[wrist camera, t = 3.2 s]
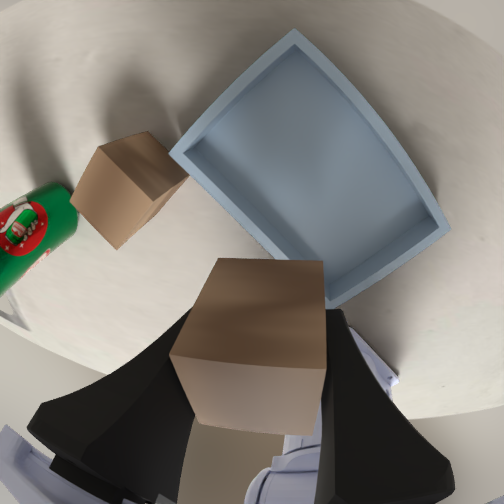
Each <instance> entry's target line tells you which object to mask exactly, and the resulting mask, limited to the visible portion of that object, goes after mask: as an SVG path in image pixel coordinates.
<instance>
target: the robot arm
mask: <svg viewBox="0 0 504 504" xmlns="http://www.w3.org/2000/svg"><path fill="white" fill-rule="evenodd" d="M192 308H193V307H192ZM192 308H191V309H190V310H188V311H187V312H186V313H185V314H184V315H183V316H182V317H181V318H180V319H179V320H178V321H177V322H176V323H175V324H173V325H172V326H171V327H170V328H169V329H168V330H167V331H166V332H165V333H164V334H162V335H161V336H160V337H159V338H158V339H157V340H156V341H154V342H153V343H152V344H151V345H149V346H148V347H147V348H146V349H145V350H143V351H142V352H141V353H140V354H138V355H137V356H136V357H134V358H133V359H132V360H130V361H129V362H128V363H126V364H125V365H123V366H122V367H120V368H119V369H117V370H116V371H114V372H112V373H111V374H109V375H107V376H105V377H103V378H102V379H100V380H98V381H96V382H95V383H93V384H91V385H89V386H86V387H84V388H82V389H80V390H78V391H75V392H73V393H71V394H68V395H65V396H63V397H59V398H56V399H53V400H50V401H47V402H44V403H42V404H41V405H40V406H39V408H38V410H37V411H36V413H35V415H34V416H33V418H32V419H31V421H30V423H29V424H28V426H27V430H28V431H29V432H30V433H31V434H32V435H33V436H34V437H35V438H36V439H38V440H39V441H40V442H41V443H42V444H43V445H45V446H46V447H47V448H48V449H50V450H51V451H52V452H54V453H55V454H56V455H55V457H54V459H53V460H52V459H50V458H49V457H47V456H45V455H44V454H43V453H41V452H40V451H39V450H37V449H35V448H34V447H33V446H32V445H31V444H30V443H29V442H28V441H26V440H25V439H24V438H23V437H22V436H20V435H19V434H18V433H17V432H15V431H14V430H13V429H11V428H10V427H9V426H8V425H5V426H4V428H3V429H2V431H1V432H0V480H1V482H2V483H3V484H4V485H5V486H6V488H7V489H8V490H9V491H10V493H11V494H12V495H13V496H14V497H15V499H16V500H17V501H18V502H19V503H20V504H145V503H147V504H155V503H156V504H177V498H178V491H179V484H180V477H181V472H182V466H183V461H184V457H185V452H186V448H187V443H188V439H189V435H190V431H191V427H192V424H193V420H194V417H195V413H194V411H193V409H192V407H191V404H190V402H189V400H188V398H187V396H186V393H185V391H184V389H183V387H182V384H181V382H180V380H179V378H178V375H177V373H176V370H175V368H174V366H173V363H172V361H171V358H170V356H169V353H170V351H171V349H172V347H173V345H174V343H175V341H176V339H177V337H178V335H179V333H180V331H181V329H182V327H183V325H184V323H185V321H186V319H187V317H188V315H189V313H190V311H191V310H192ZM325 311H326V362H327V369H326V374H325V380H324V385H323V390H322V395H321V400H320V404H319V409H318V413H317V418H316V422H315V426H314V430H313V435H312V436H301V435H285V440H284V447H283V453H282V456H274V457H273V462H272V466H271V468H265V469H263V470H262V471H261V472H260V473H259V474H258V475H257V476H256V477H255V478H254V479H253V481H252V482H251V484H250V486H249V488H248V490H247V493H246V496H245V501H244V504H435V503H437V502H439V501H441V500H443V499H444V498H446V497H448V496H449V495H451V494H452V493H453V492H454V490H455V482H454V475H453V471H452V468H451V464H450V461H449V460H448V459H447V458H446V457H444V456H443V455H442V454H441V453H440V452H439V451H438V450H436V449H435V448H434V447H433V446H432V445H431V444H430V443H429V442H428V441H427V440H426V439H425V438H424V437H423V436H422V435H421V434H420V433H419V432H418V431H417V430H416V429H415V428H414V427H413V425H412V424H410V422H409V421H408V420H407V419H406V417H405V416H404V415H403V414H402V413H401V412H400V411H399V409H398V408H397V407H396V406H395V404H394V403H393V400H392V393H391V386H393V385H395V384H397V383H398V382H399V378H398V376H397V375H396V374H395V373H394V372H393V371H392V370H391V369H390V368H389V367H388V366H387V364H386V363H385V362H384V361H383V360H382V359H381V358H380V357H379V356H378V355H377V354H376V353H375V352H374V351H373V350H372V348H371V347H370V346H369V345H368V344H367V343H366V342H365V341H364V340H363V339H362V338H361V337H360V336H359V335H358V334H357V333H356V332H355V331H354V329H353V328H351V327H348V324H347V322H346V319H345V316H344V313H343V311H342V310H341V309H325ZM486 504H504V495H503V496H501V497H499V498H497V499H494V500H492V501H490V502H488V503H486Z"/></svg>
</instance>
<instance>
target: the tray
mask: <svg viewBox="0 0 504 504" xmlns="http://www.w3.org/2000/svg"><path fill="white" fill-rule="evenodd" d="M168 154H169V155H170V156H171V157H172V158H173V159H174V160H175V161H176V162H177V163H178V164H179V165H180V166H181V167H182V168H183V169H184V170H185V171H186V172H187V173H188V174H189V175H190V176H191V177H192V178H194V179H195V180H196V181H197V182H198V183H199V184H200V185H201V186H202V187H203V188H204V189H205V190H206V191H207V192H208V193H209V194H210V195H211V196H212V197H213V198H214V199H215V200H216V201H217V202H218V203H219V204H220V205H221V206H222V207H223V208H224V209H225V210H226V211H227V212H228V213H229V214H230V215H231V216H232V217H233V218H234V219H235V220H236V221H237V222H238V223H239V224H240V225H241V226H242V227H243V228H244V229H245V230H246V231H247V232H248V233H249V234H250V235H252V236H253V237H254V238H255V239H256V240H257V241H258V242H259V243H260V244H261V245H262V246H263V247H264V248H265V249H266V250H267V251H268V252H269V253H270V254H271V255H272V256H273V257H274V258H275V259H277V260H318V261H323V270H324V287H325V309H334V308H336V307H338V306H339V305H341V304H343V303H344V302H346V301H348V300H349V299H351V298H353V297H354V296H356V295H357V294H359V293H361V292H362V291H364V290H365V289H367V288H368V287H370V286H372V285H373V284H375V283H376V282H378V281H379V280H381V279H382V278H384V277H385V276H387V275H388V274H390V273H391V272H393V271H394V270H396V269H397V268H399V267H400V266H402V265H403V264H405V263H406V262H407V261H409V260H410V259H412V258H413V257H414V256H416V255H417V254H419V253H420V252H421V251H423V250H424V249H426V248H427V247H428V246H430V245H431V244H432V243H434V242H435V241H437V240H438V239H439V238H441V237H442V236H443V235H444V234H446V233H447V232H448V231H450V230H451V227H450V225H449V223H448V221H447V219H446V217H445V216H444V214H443V212H442V210H441V208H440V206H439V205H438V203H437V201H436V199H435V198H434V196H433V194H432V192H431V191H430V189H429V187H428V186H427V184H426V182H425V181H424V179H423V178H422V176H421V174H420V173H419V171H418V170H417V168H416V167H415V165H414V163H413V162H412V160H411V159H410V157H409V156H408V155H407V153H406V152H405V150H404V149H403V147H402V146H401V144H400V143H399V142H398V140H397V139H396V138H395V136H394V135H393V133H392V132H391V131H390V129H389V128H388V127H387V125H386V124H385V123H384V122H383V120H382V119H381V118H380V116H379V115H378V114H377V113H376V111H375V110H374V109H373V108H372V107H371V105H370V104H369V103H368V102H367V101H366V99H365V98H364V97H363V96H362V95H361V93H360V92H359V91H358V90H357V89H356V88H355V87H354V86H353V84H352V83H351V82H350V81H349V80H348V79H347V78H346V77H345V76H344V75H343V74H342V73H341V71H340V70H339V69H338V68H337V67H336V66H335V65H334V64H333V63H332V62H331V61H330V60H329V59H328V58H327V57H326V56H325V55H324V54H323V53H322V52H321V51H320V50H319V49H318V48H316V47H315V46H314V45H313V44H312V43H311V42H310V41H309V40H308V39H307V38H306V37H305V36H303V35H302V34H301V33H300V32H299V31H298V30H297V29H295V28H294V29H292V30H291V31H290V32H289V33H287V34H286V35H285V36H284V37H283V38H281V39H280V40H279V41H278V42H277V43H275V44H274V45H273V46H272V47H271V48H270V49H269V50H267V51H266V52H265V53H264V54H263V55H262V56H261V57H259V58H258V59H257V60H256V61H255V62H254V63H253V64H252V65H251V66H250V67H249V68H248V69H246V70H245V71H244V72H243V73H242V74H241V75H240V76H239V77H238V78H237V79H236V80H235V81H234V82H233V83H232V84H231V85H230V86H229V87H228V88H227V89H226V90H225V91H224V92H223V93H222V94H221V95H220V96H219V97H218V98H217V99H216V100H215V101H214V102H213V103H212V104H211V105H210V106H209V107H208V109H207V110H206V111H205V112H204V113H203V114H202V115H201V116H200V117H199V118H198V119H197V121H196V122H195V123H194V124H193V125H192V126H191V127H190V128H189V130H188V131H187V132H186V133H185V134H184V135H183V136H182V138H181V139H180V140H179V141H178V142H177V143H176V145H175V146H174V147H173V148H172V149H171V151H170V152H169V153H168Z"/></svg>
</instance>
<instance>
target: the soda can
mask: <svg viewBox="0 0 504 504" xmlns="http://www.w3.org/2000/svg"><path fill="white" fill-rule="evenodd" d="M71 197H72V195H71V193H70V192H69V191H68V190H67V189H66V188H65V187H63V186H62V185H60V184H58V183H55V182H48V183H46V184H44V185H42V186H40V187H38V188H36V189H34V190H32V191H30V192H28V193H27V194H25V195H23V196H21V197H19V198H18V199H16V200H14V201H12V202H11V203H9V204H7V205H5V206H4V207H2V208H0V297H1V296H2V295H3V294H4V293H5V292H6V291H7V290H9V289H10V288H11V287H12V286H13V285H14V284H15V283H16V282H17V281H18V280H20V279H21V278H22V277H23V276H24V275H25V274H26V273H27V272H29V271H30V270H31V269H32V268H33V267H34V266H36V265H37V264H38V263H39V262H40V261H42V260H43V259H44V258H45V257H46V256H48V255H49V254H50V253H51V252H52V251H54V250H55V249H56V248H57V247H59V246H60V245H61V244H63V243H64V242H65V241H66V240H68V239H69V238H70V237H72V236H73V235H74V233H75V232H76V229H77V225H78V210H77V209H76V208H75V207H74V206H73V205H72V204H71V203H70V199H71Z"/></svg>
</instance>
